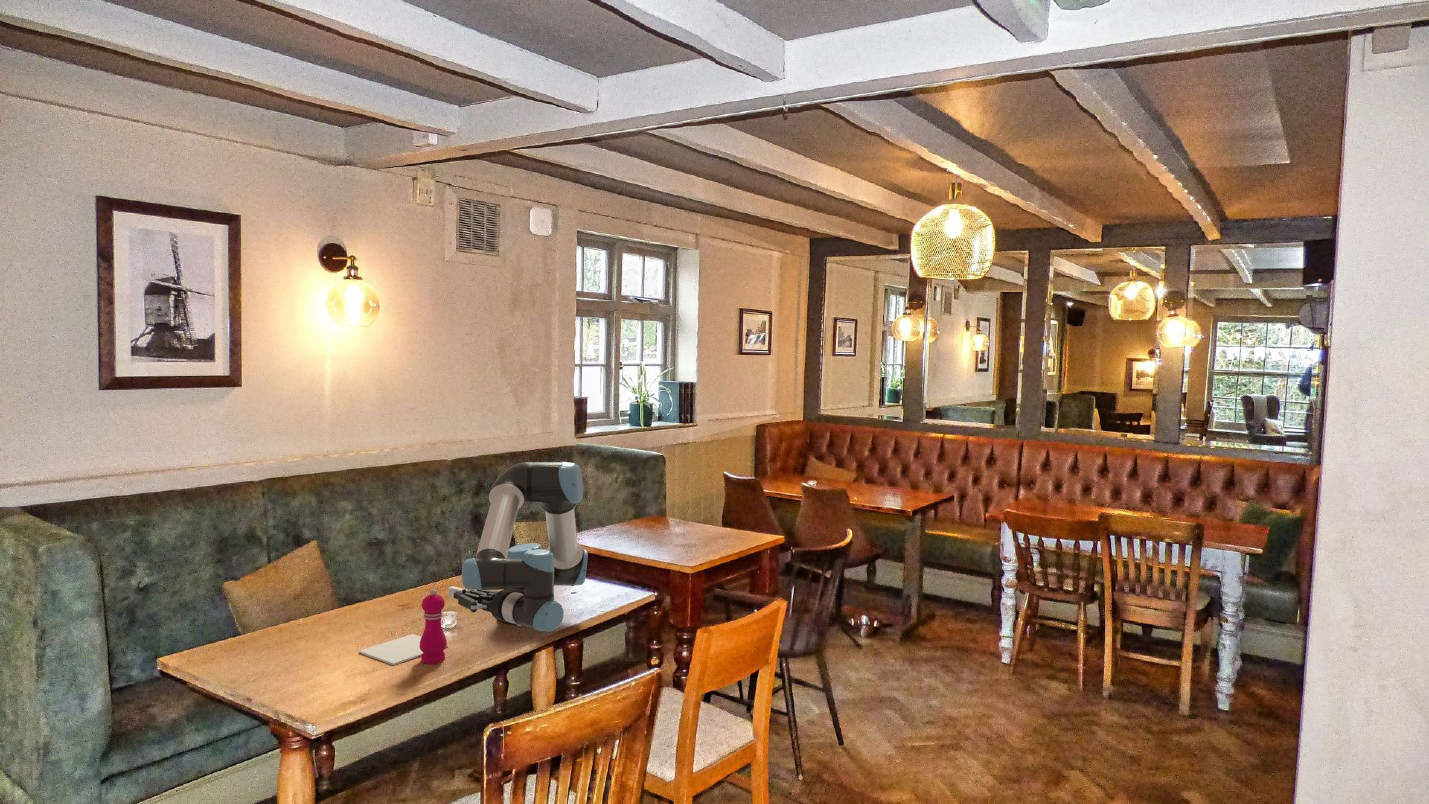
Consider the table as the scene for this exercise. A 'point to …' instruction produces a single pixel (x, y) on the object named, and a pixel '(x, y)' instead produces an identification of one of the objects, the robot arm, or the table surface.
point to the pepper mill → (433, 630)
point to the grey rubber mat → (396, 650)
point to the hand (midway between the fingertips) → (450, 591)
